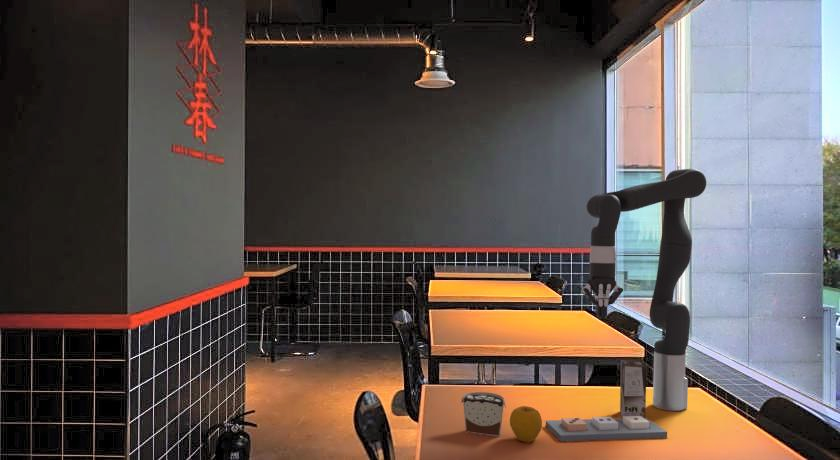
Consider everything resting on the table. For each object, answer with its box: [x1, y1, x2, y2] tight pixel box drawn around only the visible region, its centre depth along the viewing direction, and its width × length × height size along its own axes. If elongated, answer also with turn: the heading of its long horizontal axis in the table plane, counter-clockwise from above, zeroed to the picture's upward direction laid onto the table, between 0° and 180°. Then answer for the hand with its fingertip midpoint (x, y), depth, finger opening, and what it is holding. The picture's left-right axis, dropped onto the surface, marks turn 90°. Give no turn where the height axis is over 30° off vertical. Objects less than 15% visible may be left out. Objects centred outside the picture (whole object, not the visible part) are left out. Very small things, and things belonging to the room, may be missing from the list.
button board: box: [545, 417, 668, 442], centre depth 172 cm, size 30×12×2 cm, turn 98°
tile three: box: [561, 417, 587, 431], centre depth 171 cm, size 5×5×3 cm
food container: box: [460, 391, 507, 438], centre depth 172 cm, size 12×6×10 cm, turn 71°
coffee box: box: [619, 359, 648, 418], centre depth 186 cm, size 9×6×16 cm
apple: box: [509, 405, 543, 443], centre depth 165 cm, size 9×8×9 cm
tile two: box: [591, 416, 618, 430], centre depth 172 cm, size 5×5×3 cm
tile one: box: [622, 416, 649, 429], centre depth 173 cm, size 5×5×3 cm
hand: (601, 318), depth 187 cm, fingers closed
